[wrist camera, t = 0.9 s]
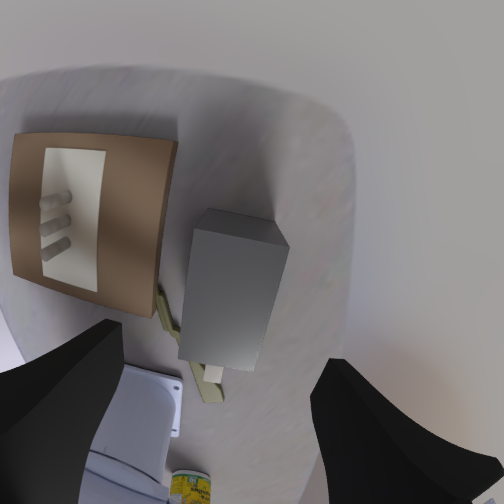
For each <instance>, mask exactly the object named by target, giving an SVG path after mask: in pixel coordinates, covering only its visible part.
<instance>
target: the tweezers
mask: <svg viewBox="0 0 504 504" xmlns="http://www.w3.org/2000/svg"><path fill="white" fill-rule="evenodd" d="M156 307H157V310H158V313H159V317H160V320H161V323H162V326H163V329H164V330H165V331H169V333H170V335H171V336H173V337H175V338H176V340H177V343H178V345H179V341H180V331H181V329H180V328H179V327H177V326H175V325H174V323H173V319H172V316H171V312H170V309H169V305H168V302H167V298H166V295H165V293H164V292H160V291H159V287H158V285H157V289H156ZM189 363H190V366H191V369H192V372H193V375H194V378H195V381H196V383H197V386H198V389H199V392H200V394H201V397H202V399H203V402H204V403H209V402H223V401H224V394H223V391H222V387H221V385H220V384H219V383H213V382H207V381H203V378H204V372H205V365H204V364H201V363H196V362H191V361H189Z"/></svg>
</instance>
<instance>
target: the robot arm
mask: <svg viewBox="0 0 504 504" xmlns="http://www.w3.org/2000/svg"><path fill="white" fill-rule="evenodd" d="M176 386H177V387H176ZM182 392H183V380H182V379H180V378H178V377H173V376H169V375H165V374H160V373H156V372H152V371H148V370H144V369H141V368H137V367H133V366H130V365H126V364H124V354H123V340H122V323H120V322H116V321H113V320H109V319H104V320H103V321H101V322H99V323H97V324H96V325H94V326H93V327H91V328H89V329H88V330H86V331H84V332H83V333H81V334H80V335H78V336H76V337H75V338H73V339H71V340H70V341H68V342H66V343H65V344H63V345H61V346H59V347H57V348H56V349H54V350H52V351H50V352H48V353H46V354H44V355H42V356H41V357H39V358H37V359H35V360H33V361H30V362H28V363H26V364H24V365H21V366H19V367H16V368H14V369H11V370H8V371H5V372H2V373H0V504H176V502H175V501H174V500H172V499H170V498H168V494H169V488H168V487H165V486H162V480H163V474H164V469H165V463H166V458H167V453H168V447H169V442H170V437H179V433H180V417H181V404H182ZM310 402H311V411H312V419H313V424H314V428H315V431H316V435H317V439H318V443H319V447H320V451H321V454H322V458H323V462H324V466H325V470H326V476H327V483H328V492H329V504H472V500H474V499H475V498H477V497H478V496H479V495H481V494H482V493H483V492H485V491H486V490H487V489H489V488H490V487H491V486H492V485H493V484H495V483H496V482H497V481H498V480H500V479H501V478H502V477H503V476H504V468H503V467H502V465H501V463H500V462H499V460H498V459H497V458H496V457H491V456H487V455H483V454H479V453H475V452H472V451H469V450H466V449H464V448H461V447H458V446H457V445H454V444H452V443H450V442H448V441H446V440H444V439H442V438H440V437H438V436H436V435H435V434H433V433H431V432H430V431H428V430H426V429H425V428H423V427H422V426H420V425H419V424H417V423H416V422H414V421H413V420H412V419H410V418H409V417H408V416H406V415H405V414H404V413H403V412H401V411H400V410H399V409H398V408H397V407H395V406H394V405H393V404H392V403H391V402H390V401H389V400H387V399H386V398H385V397H384V396H383V395H382V394H381V393H380V392H379V391H378V390H376V389H375V388H374V387H373V386H372V385H371V384H370V383H369V382H368V381H367V380H366V379H365V378H364V377H363V376H362V375H361V374H360V373H359V372H358V371H357V370H356V369H355V368H354V367H353V366H351V365H350V364H349V363H348V362H347V361H346V360H345V359H334V358H329V360H328V362H327V364H326V366H325V368H324V370H323V372H322V374H321V376H320V378H319V380H318V382H317V384H316V386H315V387H314V389H313V391H312V393H311V395H310ZM484 504H495V501H494V499H493V498H491V499H489V500H488V501H487V502H485V503H484Z"/></svg>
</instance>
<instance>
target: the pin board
mask: <svg viewBox="0 0 504 504" xmlns="http://www.w3.org/2000/svg"><path fill="white" fill-rule="evenodd" d="M177 147H178V142H175V141H170V140H162V139H153V138H144V137H134V136H123V135H109V134H91V133H22V134H15V136H14V143H13V150H12V158H11V168H10V182H9V235H10V249H11V259H12V268H13V275H16V276H18V277H21V278H23V279H26V280H28V281H31V282H33V283H36V284H39V285H41V286H44V287H47V288H50V289H53V290H55V291H58V292H61V293H64V294H67V295H70V296H73V297H76V298H79V299H82V300H86V301H89V302H92V303H96V304H99V305H102V306H106V307H109V308H113V309H116V310H120V311H124V312H127V313H131V314H135V315H139V316H143V317H147V318H152V316H153V314H154V313H155V311H156V289H157V285H158V276H159V265H160V256H161V247H162V238H163V230H164V223H165V215H166V209H167V202H168V196H169V190H170V184H171V178H172V172H173V167H174V162H175V157H176V152H177Z"/></svg>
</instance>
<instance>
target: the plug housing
mask: <svg viewBox="0 0 504 504" xmlns="http://www.w3.org/2000/svg"><path fill="white" fill-rule="evenodd" d="M289 249H290V247H289V245H288V243H287V242H286V240H285V238H284V236H283V235H282V233H281V231H280V229H279V228H278V226H277V224H276V222H273V221H268V220H264V219H259V218H254V217H249V216H245V215H240V214H235V213H230V212H225V211H220V210H215V209H209V208H208V210H207V211H206V212H205V214H204V215H203V217H202V218H201V219H200V221H199V222H198V224H197V225H196V227H195V228H194V233H193V239H192V245H191V252H190V259H189V265H188V273H187V280H186V287H185V295H184V304H183V312H182V321H181V331H180V341H179V352H178V359H181V360H186V361H191V362H196V363H201V364H206V366H205V372H204V378H203V381H207V382H213V383H219V384H220V382H221V377H222V373H223V369H224V368H230V369H237V370H244V371H252V372H253V370H254V367H255V364H256V361H257V358H258V355H259V351H260V348H261V345H262V342H263V339H264V335H265V332H266V329H267V325H268V322H269V319H270V315H271V312H272V309H273V305H274V302H275V298H276V295H277V291H278V288H279V285H280V281H281V277H282V274H283V270H284V267H285V263H286V260H287V256H288V252H289Z"/></svg>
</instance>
